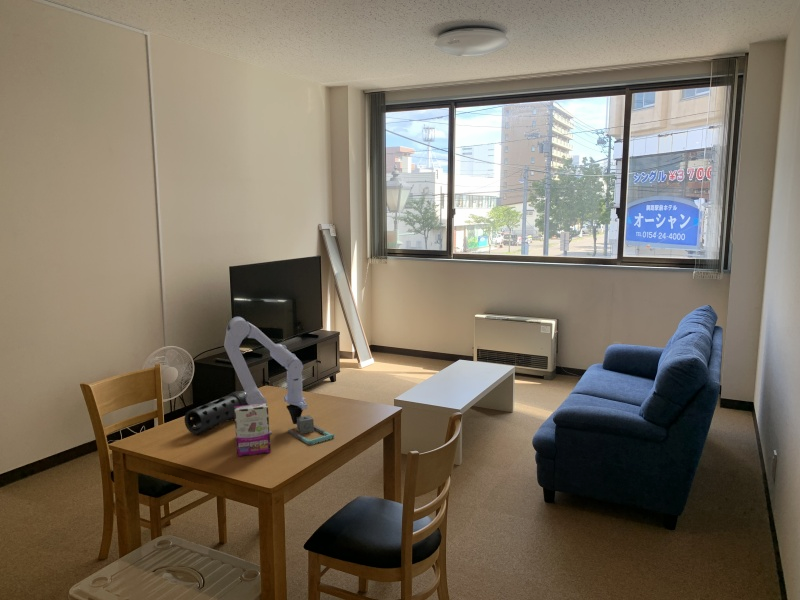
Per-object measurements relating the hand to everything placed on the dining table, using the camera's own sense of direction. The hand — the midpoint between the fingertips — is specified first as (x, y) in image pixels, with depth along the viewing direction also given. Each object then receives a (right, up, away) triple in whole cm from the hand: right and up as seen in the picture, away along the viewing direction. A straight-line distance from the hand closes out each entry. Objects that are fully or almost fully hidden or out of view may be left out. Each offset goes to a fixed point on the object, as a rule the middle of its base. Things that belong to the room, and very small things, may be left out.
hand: (296, 423), depth 227 cm
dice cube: (+4, -2, -3) cm, 6 cm away
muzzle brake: (-30, -2, +5) cm, 31 cm away
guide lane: (+7, -3, -8) cm, 11 cm away
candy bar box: (-11, -5, -23) cm, 26 cm away
